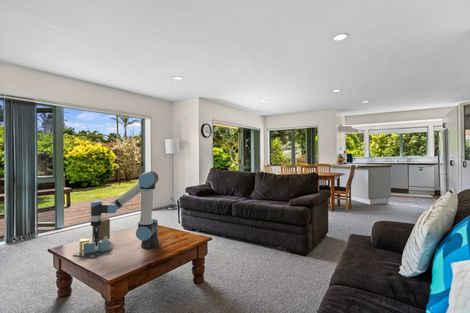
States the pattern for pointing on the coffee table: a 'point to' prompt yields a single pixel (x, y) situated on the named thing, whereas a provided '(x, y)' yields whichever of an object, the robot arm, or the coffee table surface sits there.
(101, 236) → the wooden block
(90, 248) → the link
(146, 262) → the coffee table surface
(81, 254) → the plate
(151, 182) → the robot arm
